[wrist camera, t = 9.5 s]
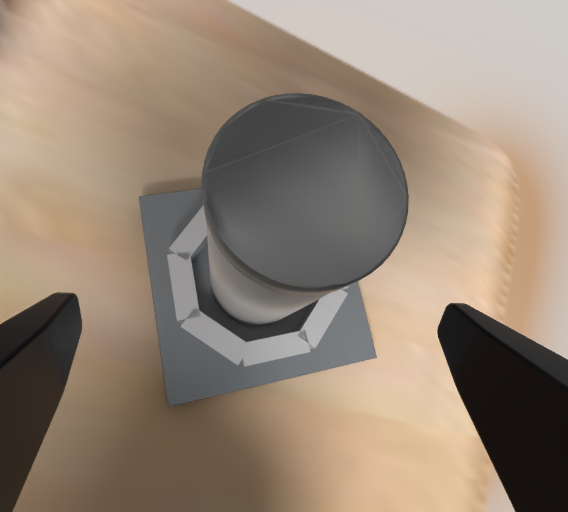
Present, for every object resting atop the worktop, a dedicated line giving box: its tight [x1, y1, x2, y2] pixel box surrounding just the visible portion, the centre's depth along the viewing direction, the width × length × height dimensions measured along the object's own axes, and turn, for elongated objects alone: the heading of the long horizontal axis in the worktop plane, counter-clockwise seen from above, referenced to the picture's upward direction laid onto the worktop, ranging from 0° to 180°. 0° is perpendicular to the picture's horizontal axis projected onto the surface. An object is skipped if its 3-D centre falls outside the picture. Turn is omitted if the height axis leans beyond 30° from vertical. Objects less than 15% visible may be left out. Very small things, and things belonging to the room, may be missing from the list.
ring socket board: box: [139, 189, 377, 407], centre depth 19 cm, size 10×10×2 cm
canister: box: [202, 93, 409, 326], centre depth 14 cm, size 5×5×11 cm
